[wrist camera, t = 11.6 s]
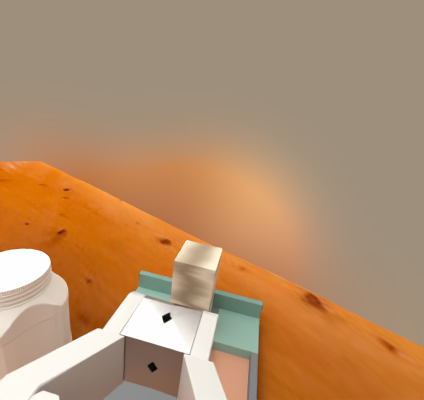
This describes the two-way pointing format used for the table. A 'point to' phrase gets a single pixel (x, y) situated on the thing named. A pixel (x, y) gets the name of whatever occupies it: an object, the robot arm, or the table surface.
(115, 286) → the table surface
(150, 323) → the robot arm
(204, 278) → the maple block
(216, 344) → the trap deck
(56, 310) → the jar
